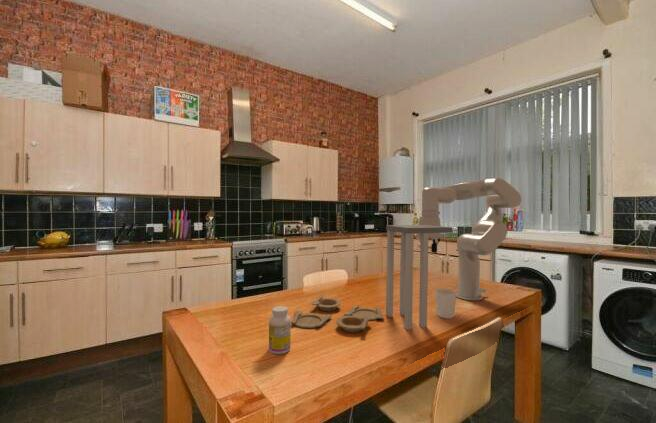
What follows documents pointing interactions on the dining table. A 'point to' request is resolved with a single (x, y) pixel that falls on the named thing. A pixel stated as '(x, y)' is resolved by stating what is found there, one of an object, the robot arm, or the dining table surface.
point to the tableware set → (346, 322)
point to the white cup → (445, 303)
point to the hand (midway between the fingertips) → (429, 252)
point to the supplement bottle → (279, 331)
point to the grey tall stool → (409, 270)
